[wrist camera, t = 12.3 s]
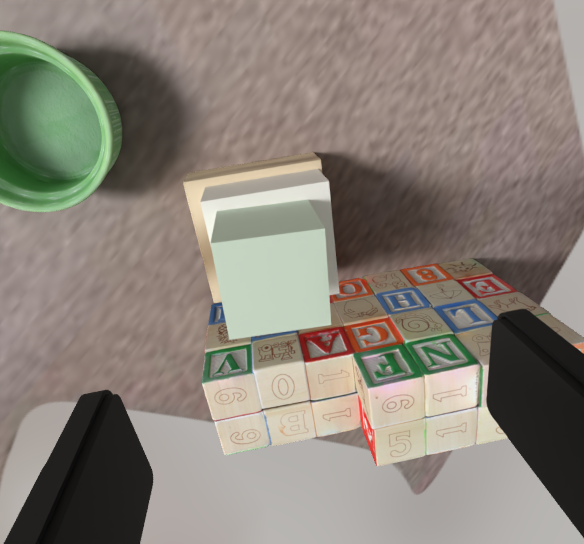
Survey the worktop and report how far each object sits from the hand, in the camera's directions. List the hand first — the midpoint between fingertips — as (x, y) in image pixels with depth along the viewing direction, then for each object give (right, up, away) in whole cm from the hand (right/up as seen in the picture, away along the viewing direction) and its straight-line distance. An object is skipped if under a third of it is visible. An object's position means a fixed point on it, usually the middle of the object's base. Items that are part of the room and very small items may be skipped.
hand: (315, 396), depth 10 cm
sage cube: (-2, +4, +13) cm, 14 cm away
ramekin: (-15, +12, +15) cm, 25 cm away
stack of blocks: (+4, 0, +23) cm, 24 cm away
